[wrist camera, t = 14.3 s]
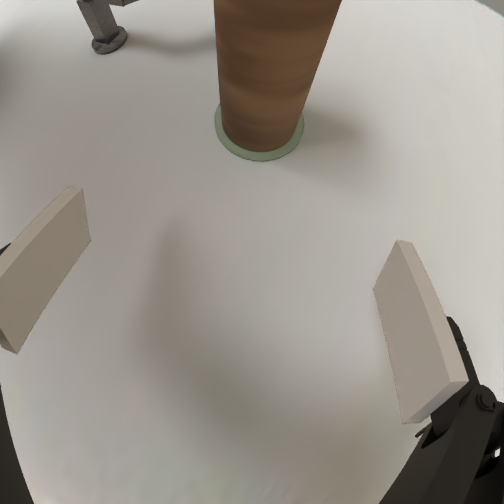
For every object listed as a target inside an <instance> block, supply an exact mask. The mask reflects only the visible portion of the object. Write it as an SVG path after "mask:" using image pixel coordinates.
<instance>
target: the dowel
mask: <svg viewBox="0 0 504 504" xmlns="http://www.w3.org/2000/svg"><path fill="white" fill-rule="evenodd" d="M341 1H342V0H214V15H215V32H216V48H217V63H218V78H219V93H220V106H221V120H222V127H223V130H224V132H225V134H226V136H227V137H228V138H229V139H230V140H231V141H232V142H233V143H234V144H235V145H237V146H239V147H240V148H243V149H245V150H248V151H252V152H269V151H273V150H276V149H278V148H280V147H282V146H284V145H285V144H286V143H287V142H288V141H289V140H290V139H291V138H292V136H293V134H294V132H295V129H296V127H297V124H298V121H299V118H300V115H301V113H302V110H303V107H304V104H305V101H306V99H307V96H308V93H309V90H310V87H311V85H312V82H313V79H314V76H315V73H316V71H317V68H318V65H319V62H320V59H321V57H322V54H323V51H324V48H325V46H326V43H327V40H328V37H329V34H330V32H331V29H332V26H333V23H334V20H335V18H336V15H337V12H338V9H339V6H340V4H341Z"/></svg>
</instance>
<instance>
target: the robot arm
mask: <svg viewBox="0 0 504 504" xmlns="http://www.w3.org/2000/svg"><path fill="white" fill-rule="evenodd" d="M90 242H91V239H90V234H89V228H88V222H87V216H86V209H85V202H84V195H83V188H75V187H68V188H67V189H66V190H64V191H63V192H62V193H61V194H60V195H59V196H58V197H57V198H56V199H55V200H54V201H53V202H52V203H50V204H49V205H48V206H47V207H46V208H45V209H44V210H43V211H42V212H41V213H40V214H39V215H38V216H37V217H36V218H35V219H34V220H33V221H32V222H31V223H30V224H29V225H28V226H27V227H26V228H25V229H24V230H23V231H22V232H21V234H20V235H19V236H18V237H17V238H16V239H15V240H14V241H13V242H12V243H9V244H8V245H6V246H5V247H3V248H2V249H1V250H0V344H1V346H2V347H3V348H4V349H6V350H8V351H11V352H13V353H15V354H18V352H19V351H20V349H21V347H22V345H23V343H24V342H25V340H26V338H27V336H28V335H29V333H30V331H31V330H32V328H33V326H34V325H35V323H36V321H37V320H38V318H39V316H40V315H41V313H42V311H43V310H44V308H45V307H46V305H47V304H48V302H49V300H50V299H51V297H52V296H53V294H54V293H55V291H56V290H57V288H58V287H59V285H60V284H61V282H62V281H63V279H64V278H65V276H66V275H67V274H68V272H69V271H70V269H71V268H72V266H73V265H74V264H75V262H76V261H77V259H78V258H79V257H80V255H81V254H82V252H83V251H84V250H85V248H86V247H87V246H88V244H89V243H90ZM373 291H374V295H375V298H376V302H377V306H378V309H379V313H380V317H381V321H382V325H383V329H384V333H385V338H386V342H387V346H388V351H389V355H390V360H391V364H392V369H393V374H394V379H395V384H396V389H397V395H398V400H399V406H400V412H401V418H402V424H407V423H420V422H422V421H423V420H424V419H425V418H427V417H428V416H429V415H431V420H432V422H431V423H430V424H429V425H427V426H426V427H425V428H423V429H422V430H420V431H419V432H418V433H417V434H416V435H415V437H419V436H420V435H421V434H423V435H422V437H421V439H420V440H419V442H418V444H417V446H416V447H415V449H414V451H413V453H412V454H411V456H410V458H409V459H408V461H407V463H406V464H405V466H404V467H403V469H402V471H401V472H400V474H399V475H398V477H397V478H396V480H395V481H394V483H393V484H392V486H391V487H390V489H389V490H388V491H387V493H386V494H385V496H384V497H383V499H382V500H381V501H380V503H379V504H504V403H502V402H499V401H497V400H496V397H495V395H494V393H493V392H492V391H491V390H490V389H489V388H488V387H486V386H484V385H480V384H479V381H478V378H477V375H476V372H475V369H474V366H473V363H472V360H471V358H470V355H469V352H468V351H467V347H466V344H465V342H464V341H463V337H462V334H461V332H460V329H459V327H458V326H457V324H456V323H455V322H454V321H453V319H452V318H451V317H446V316H445V313H444V311H443V309H442V306H441V304H440V302H439V299H438V297H437V295H436V292H435V290H434V288H433V286H432V284H431V281H430V279H429V277H428V275H427V273H426V271H425V269H424V266H423V264H422V262H421V260H420V258H419V256H418V254H417V252H416V250H415V248H414V246H413V244H412V243H410V242H405V241H400V240H396V242H395V244H394V246H393V249H392V251H391V253H390V255H389V257H388V259H387V261H386V263H385V265H384V267H383V269H382V271H381V273H380V275H379V277H378V279H377V281H376V283H375V285H374V287H373ZM499 448H500V455H499V456H497V457H495V451H496V450H498V449H499ZM0 504H34V502H33V500H32V497H31V495H30V492H29V490H28V487H27V484H26V482H25V479H24V476H23V473H22V470H21V467H20V464H19V461H18V458H17V455H16V451H15V448H14V444H13V441H12V437H11V433H10V429H9V425H8V421H7V417H6V412H5V407H4V402H3V397H2V391H1V385H0Z"/></svg>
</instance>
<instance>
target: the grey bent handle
mask: <svg viewBox="0 0 504 504" xmlns="http://www.w3.org/2000/svg"><path fill="white" fill-rule="evenodd" d="M135 1H138V0H77V1H76V2H77V4H78V6H79V8H80V10H81V12H82V14H83V16H84V18H85V20H86V22H87V24H88V26H89V28H90V30H91V32H92V34H93V36H94V39H93V40H92V47H93V49H94V51H95V52H96V53H98V54H107V53H110V52H113V51H115V50H117V49H118V48H119V47H121V46H122V45H123V44H124V42H125V41H126V39H127V34H126V31H125V29H124V28H123V27H121V26H117V24H116V21H115V19H114V16H113V14H112V11H111V9H110V6H109V4H110V5H116V6H122V7H124V6H125V5H128V4H130V3H133V2H135Z"/></svg>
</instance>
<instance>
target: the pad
mask: <svg viewBox="0 0 504 504" xmlns="http://www.w3.org/2000/svg"><path fill="white" fill-rule="evenodd" d="M215 128H216V133H217V135H218V137H219V139H220V141H221V142H222V144H223V145H224V146H225V147H226V148H227V149H228V150H229V151H231V152H232V153H234V154H235V155H237V156H239V157H242V158H245V159H248V160H253V161H268V160H273V159H277V158H280V157H282V156H284V155H286V154H287V153H289V152H290V151H291V150H292V149H293V148H294V147H295V146H296V145H297V143H298V142H299V140H300V138H301V135H302V132H303V128H304V119H303V115H302V113H301V115H300V118H299V121H298V124H297V127H296V129H295V132H294V134H293V136H292V138H291V139H290V140H289V141H288V142H287V143H286V144H285V145H284V146H282V147H280V148H278V149H276V150H273V151H269V152H252V151H248V150H245V149H243V148H240V147H239V146H237V145H235V144H234V143H233V142H232V141H231V140H230V139H229V138H228V137H227V136H226V134H225V132H224V130H223V127H222V120H221V106H220V104H219V106H218V108H217V110H216V113H215Z"/></svg>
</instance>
